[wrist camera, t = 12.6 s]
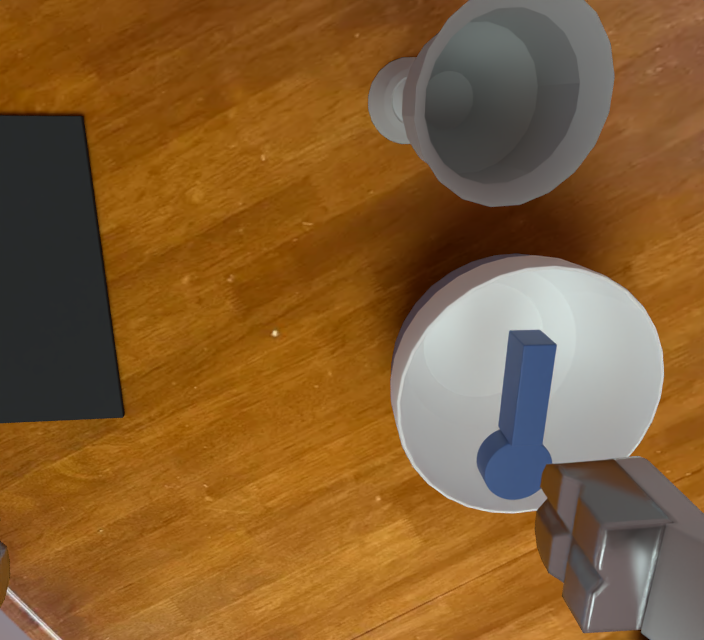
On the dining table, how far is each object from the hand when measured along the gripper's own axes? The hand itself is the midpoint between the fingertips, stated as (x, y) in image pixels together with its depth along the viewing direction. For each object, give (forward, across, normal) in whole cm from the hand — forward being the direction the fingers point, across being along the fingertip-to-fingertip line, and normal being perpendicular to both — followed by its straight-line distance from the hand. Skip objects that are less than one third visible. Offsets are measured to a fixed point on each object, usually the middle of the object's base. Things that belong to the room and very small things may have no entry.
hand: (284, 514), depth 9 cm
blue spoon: (+21, -13, +11) cm, 27 cm away
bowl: (+31, -14, +10) cm, 36 cm away
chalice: (+31, -8, -6) cm, 33 cm away
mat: (+31, +19, +5) cm, 37 cm away
